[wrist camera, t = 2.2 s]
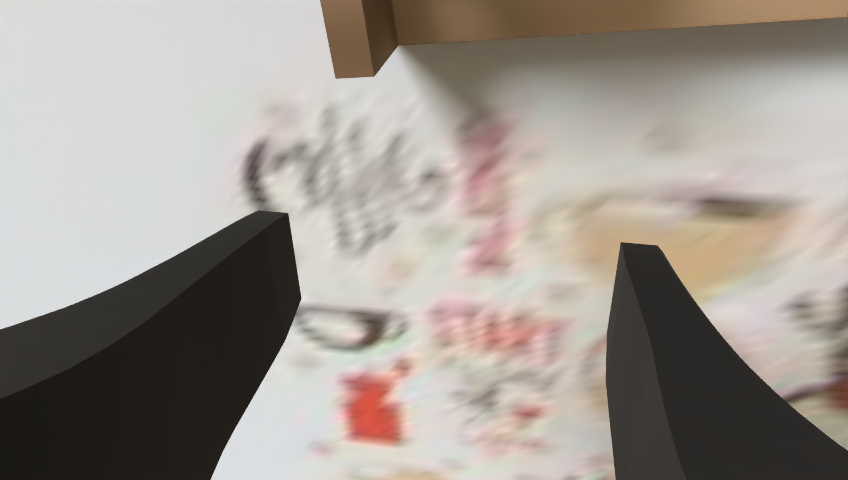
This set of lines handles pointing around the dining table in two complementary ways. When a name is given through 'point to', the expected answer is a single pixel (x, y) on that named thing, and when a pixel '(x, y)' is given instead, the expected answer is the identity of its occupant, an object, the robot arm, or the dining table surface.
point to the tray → (528, 21)
